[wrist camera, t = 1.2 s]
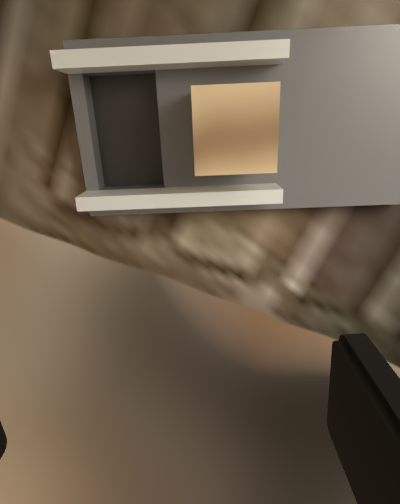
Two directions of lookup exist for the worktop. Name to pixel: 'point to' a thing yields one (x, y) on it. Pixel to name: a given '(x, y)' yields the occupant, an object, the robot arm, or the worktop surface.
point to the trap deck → (230, 72)
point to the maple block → (235, 128)
